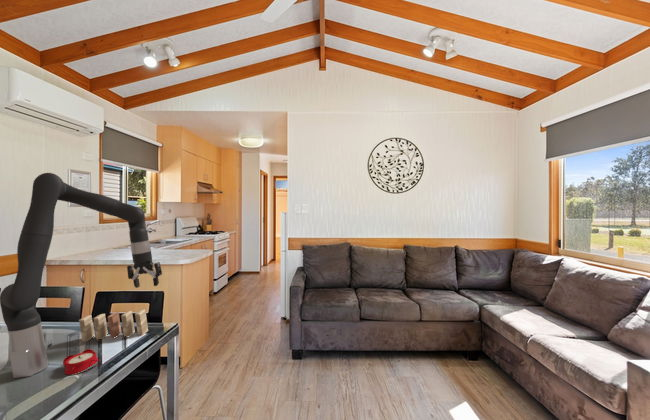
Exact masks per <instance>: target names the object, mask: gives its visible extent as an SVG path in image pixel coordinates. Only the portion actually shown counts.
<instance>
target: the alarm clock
mask: <svg viewBox="0 0 650 420" xmlns="http://www.w3.org/2000/svg"><path fill="white" fill-rule="evenodd" d="M98 359H99V358H98V357H97V352H96V351H94V350H93V349H92V348H87V349H84V350H83V351H81V352H80V353H77V354H75V355H74V354H73V355H72V354H71V355H68V356H66V357H65V358H64V359H63V362H62V363H63V366H64V367H65V369H64V374H65V375H66V374H67V376H72V375H71V374H74V375H76V374H75V373H78V372H81V371H83V370H85V369H87V368H88V367H90V366H92V365H93V364H95V363H96V362H97V361H98Z"/></svg>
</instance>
